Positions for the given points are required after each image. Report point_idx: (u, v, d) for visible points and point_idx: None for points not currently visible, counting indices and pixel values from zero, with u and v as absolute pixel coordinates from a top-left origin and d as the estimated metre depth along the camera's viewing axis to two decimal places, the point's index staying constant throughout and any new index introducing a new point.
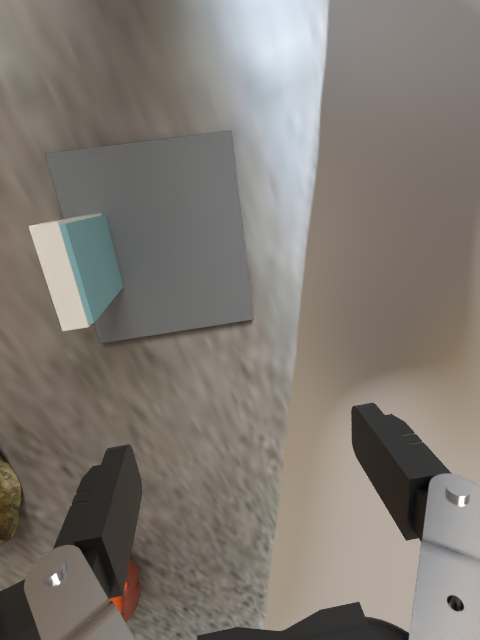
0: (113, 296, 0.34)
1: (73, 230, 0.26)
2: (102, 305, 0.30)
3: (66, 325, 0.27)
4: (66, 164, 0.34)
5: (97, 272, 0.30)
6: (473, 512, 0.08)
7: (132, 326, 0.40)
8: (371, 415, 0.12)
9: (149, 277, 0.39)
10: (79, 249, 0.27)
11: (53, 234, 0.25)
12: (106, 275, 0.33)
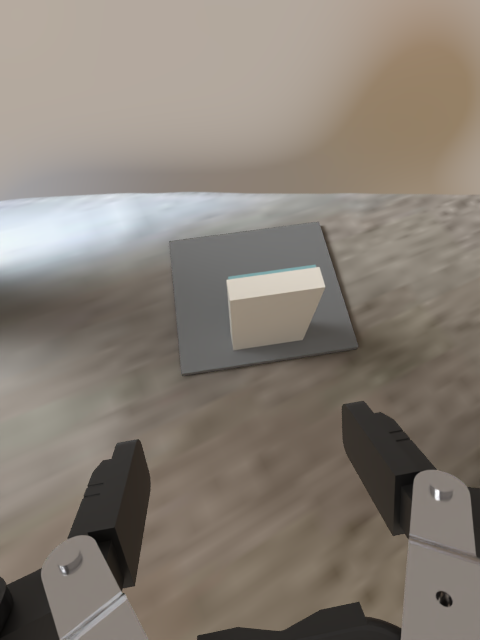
0: None
1: None
2: None
3: (319, 283, 0.29)
4: (190, 357, 0.39)
5: None
6: (455, 507, 0.08)
7: (336, 316, 0.41)
8: (360, 413, 0.12)
9: None
10: None
11: (236, 284, 0.29)
12: None
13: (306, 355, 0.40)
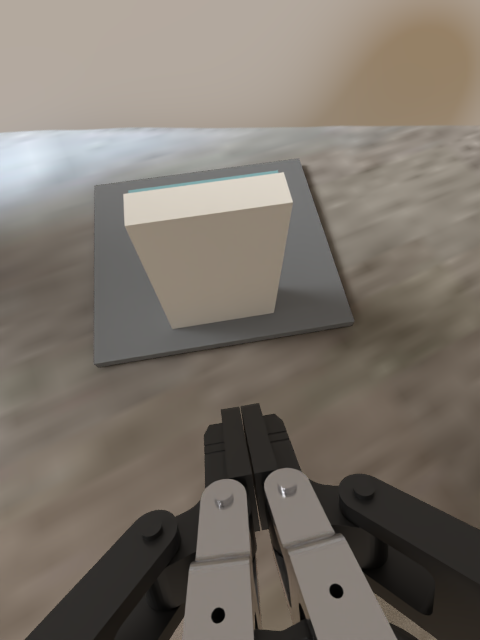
0: None
1: None
2: None
3: (282, 197, 0.17)
4: (109, 340, 0.27)
5: None
6: (291, 502, 0.09)
7: (322, 279, 0.29)
8: (250, 414, 0.12)
9: None
10: None
11: (139, 200, 0.17)
12: None
13: (278, 334, 0.27)
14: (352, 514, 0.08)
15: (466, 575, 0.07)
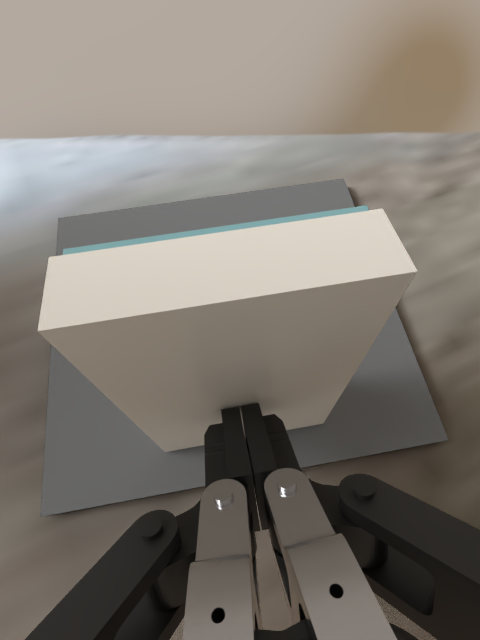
0: None
1: None
2: None
3: (391, 259, 0.08)
4: (67, 473, 0.17)
5: None
6: (291, 502, 0.09)
7: (392, 367, 0.19)
8: (250, 415, 0.12)
9: None
10: None
11: (81, 269, 0.08)
12: None
13: (331, 461, 0.18)
14: (352, 514, 0.08)
15: (466, 575, 0.07)
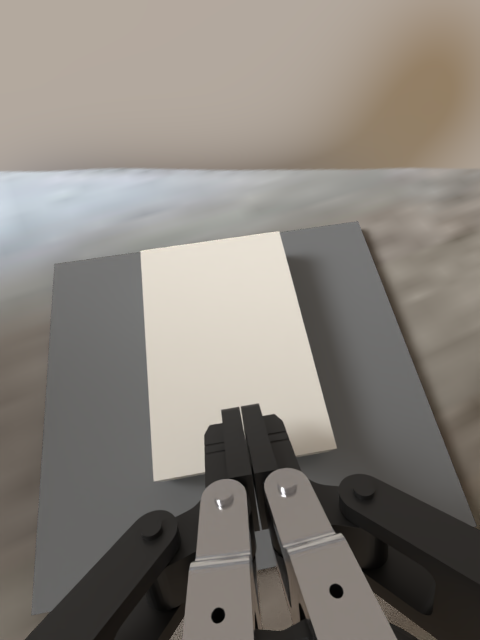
0: None
1: None
2: None
3: None
4: (61, 563, 0.16)
5: None
6: (291, 502, 0.09)
7: (414, 440, 0.18)
8: (250, 415, 0.12)
9: None
10: None
11: None
12: None
13: None
14: (352, 514, 0.08)
15: (466, 575, 0.07)
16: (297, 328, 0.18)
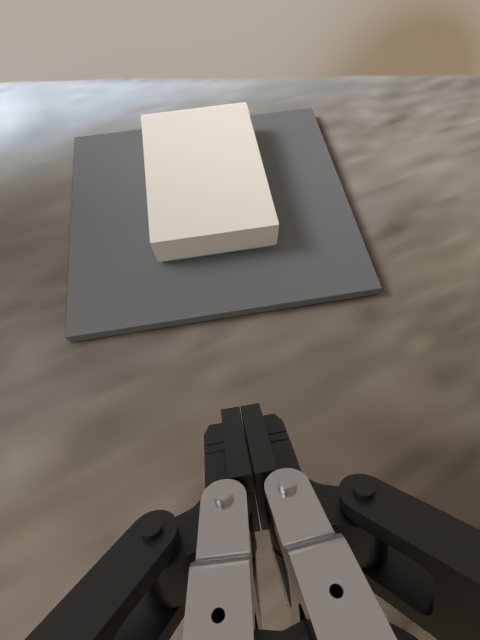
0: None
1: None
2: None
3: None
4: (85, 310, 0.22)
5: None
6: (291, 502, 0.09)
7: (341, 240, 0.24)
8: (250, 414, 0.12)
9: None
10: None
11: None
12: None
13: (290, 304, 0.23)
14: (352, 514, 0.08)
15: (466, 575, 0.07)
16: (255, 159, 0.24)
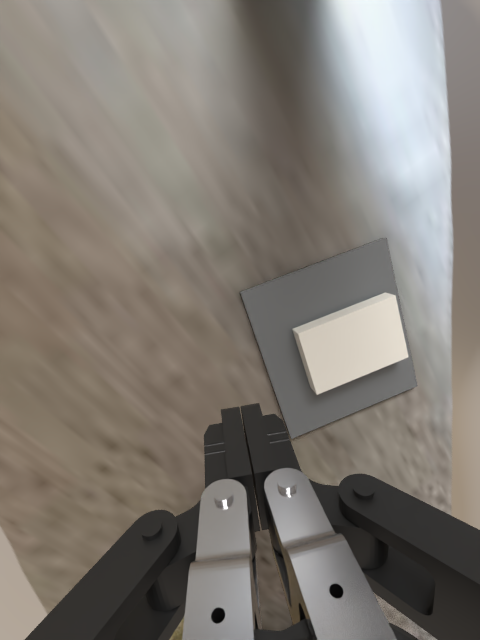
0: None
1: None
2: None
3: None
4: (258, 297, 0.40)
5: None
6: (291, 502, 0.09)
7: (317, 417, 0.45)
8: (250, 415, 0.12)
9: None
10: None
11: None
12: None
13: (277, 398, 0.43)
14: (352, 514, 0.08)
15: (466, 575, 0.07)
16: (361, 373, 0.41)
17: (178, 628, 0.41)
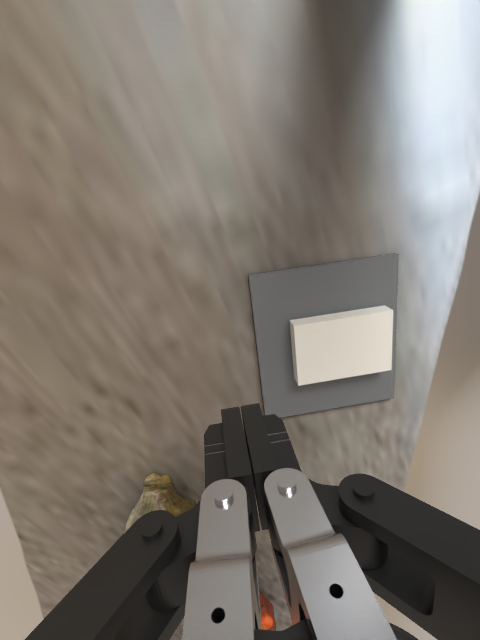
0: None
1: None
2: None
3: None
4: (264, 283, 0.41)
5: None
6: (291, 502, 0.09)
7: (294, 406, 0.47)
8: (250, 415, 0.12)
9: None
10: None
11: None
12: None
13: (261, 380, 0.46)
14: (352, 514, 0.08)
15: (466, 575, 0.07)
16: (344, 375, 0.44)
17: None
